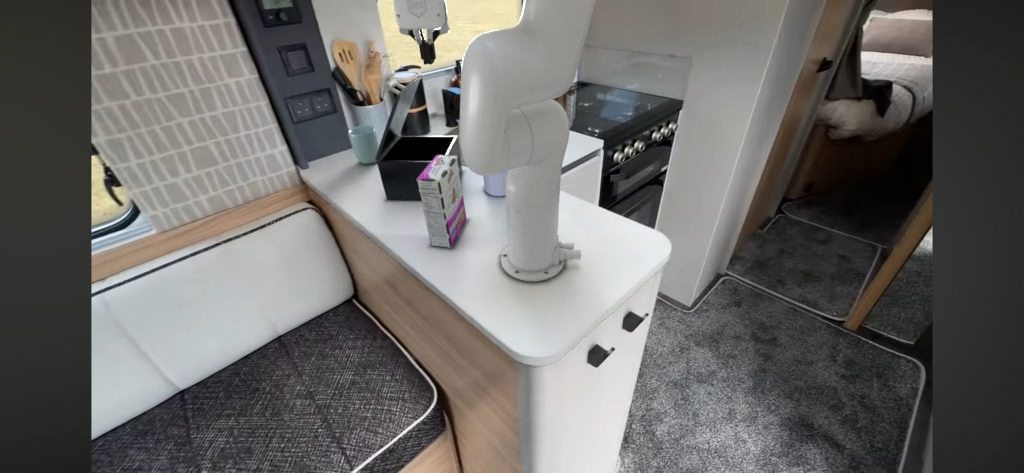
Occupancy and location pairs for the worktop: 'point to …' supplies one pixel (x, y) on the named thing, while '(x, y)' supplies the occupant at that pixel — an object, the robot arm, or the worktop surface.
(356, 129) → the cup
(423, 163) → the bin
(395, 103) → the bin lid
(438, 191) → the candy bar box
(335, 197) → the worktop surface
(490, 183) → the soap bottle
